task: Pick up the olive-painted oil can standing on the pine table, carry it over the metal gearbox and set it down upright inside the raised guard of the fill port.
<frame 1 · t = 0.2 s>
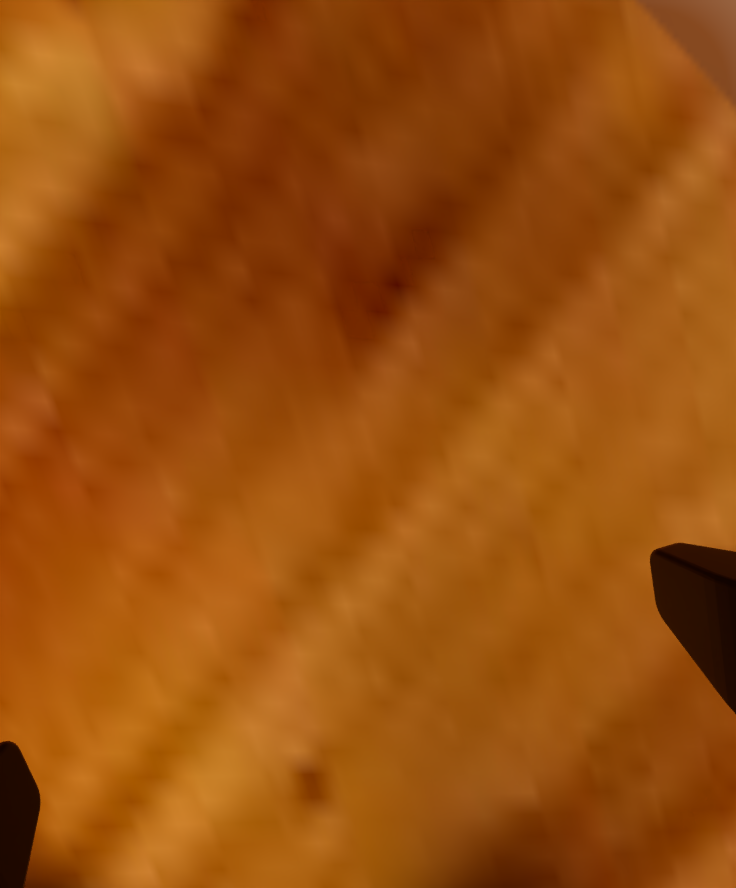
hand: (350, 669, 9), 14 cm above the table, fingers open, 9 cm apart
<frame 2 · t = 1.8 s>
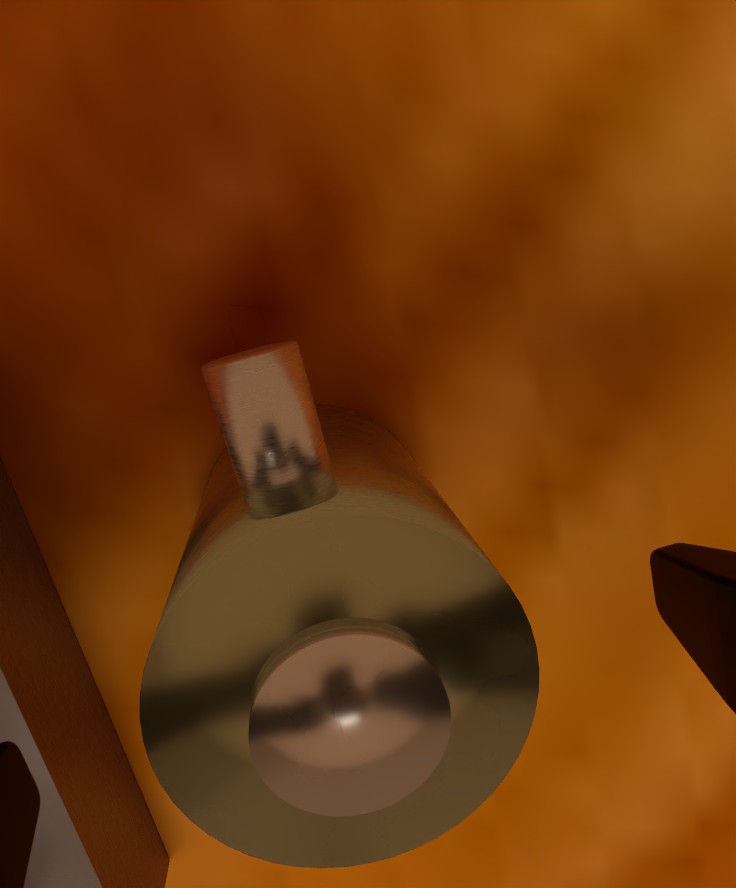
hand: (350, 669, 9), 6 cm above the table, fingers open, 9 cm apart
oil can: (315, 512, 15), on the table
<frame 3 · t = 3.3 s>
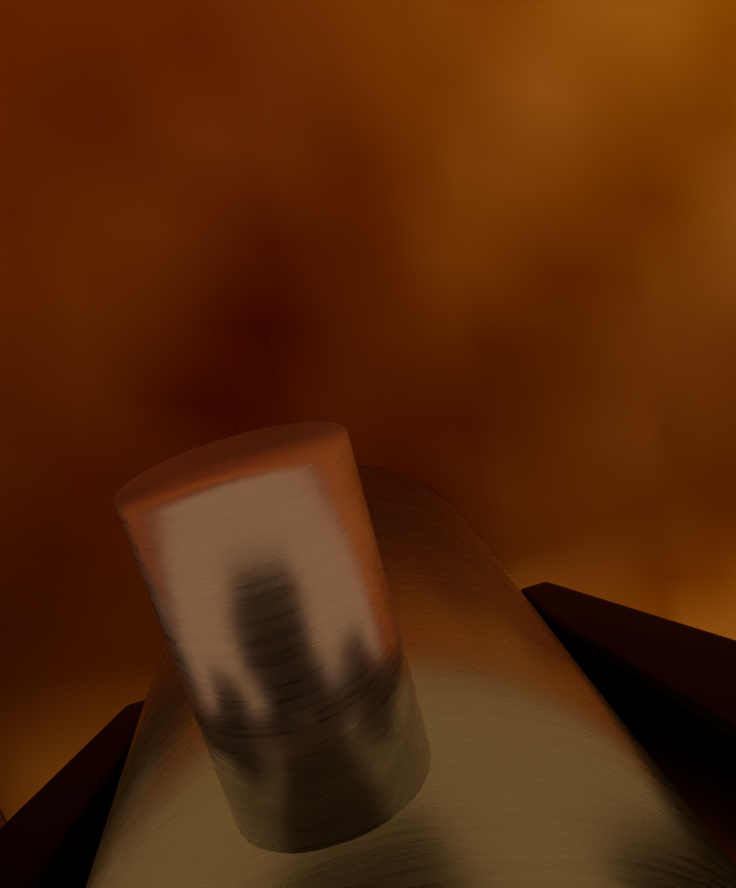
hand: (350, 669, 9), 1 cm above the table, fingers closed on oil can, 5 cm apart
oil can: (340, 617, 10), on the table, touching gripper
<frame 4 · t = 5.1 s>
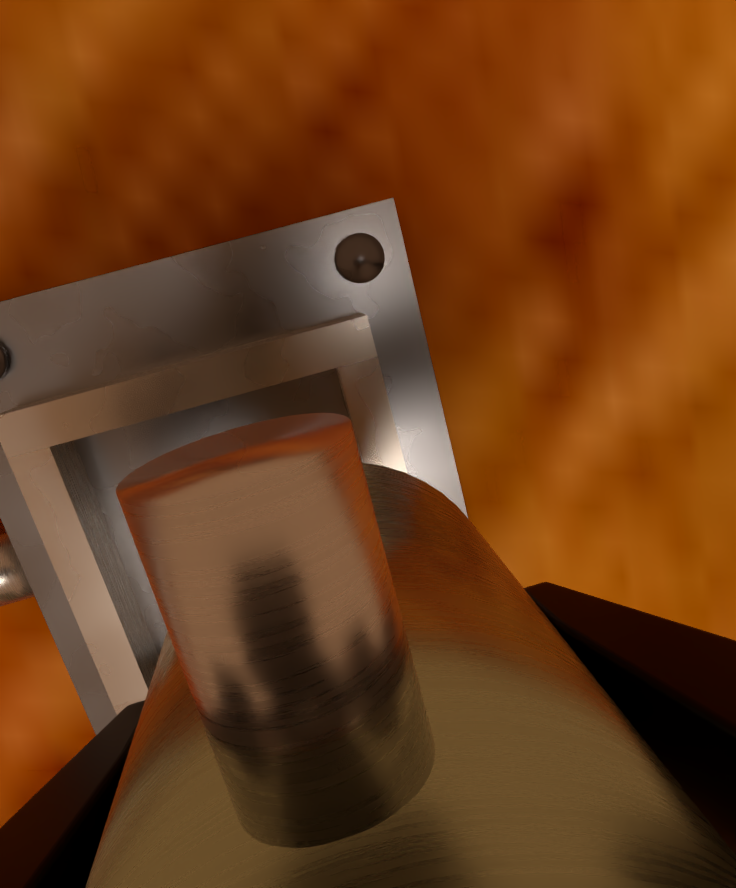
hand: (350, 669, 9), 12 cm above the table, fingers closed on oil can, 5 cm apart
gearbox: (251, 485, 21), on the table
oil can: (341, 614, 10), point 11 cm above the table, touching gripper
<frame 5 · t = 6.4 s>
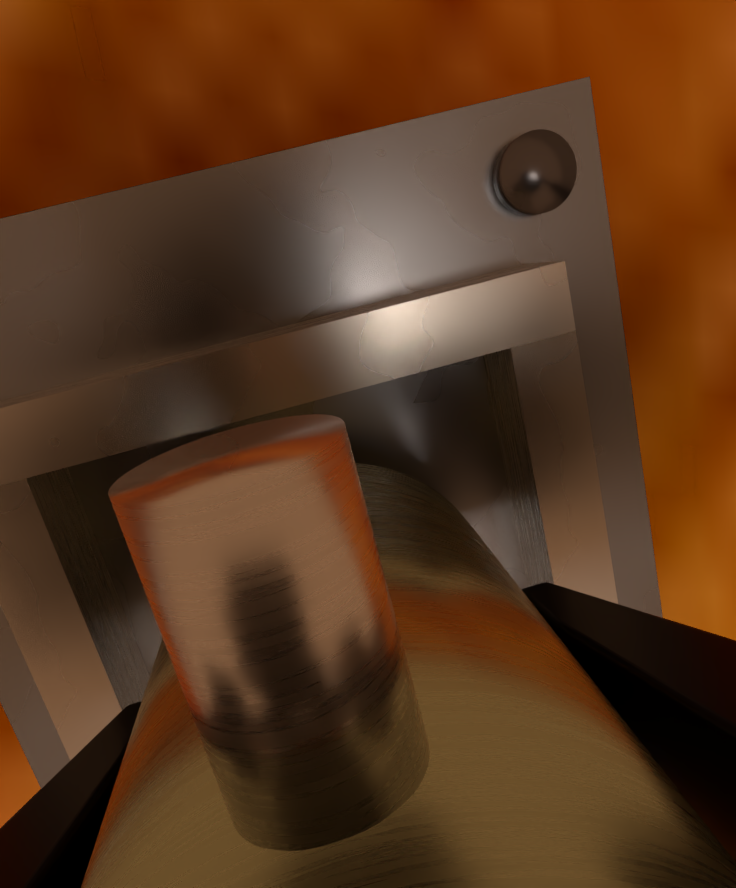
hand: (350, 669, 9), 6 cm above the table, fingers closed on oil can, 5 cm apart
gearbox: (319, 521, 14), on the table
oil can: (339, 615, 10), point 4 cm above the table, touching gripper
when the fingers open (6 cm above the table, at t = 7.2 s): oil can drops 1 cm, resting on gearbox.
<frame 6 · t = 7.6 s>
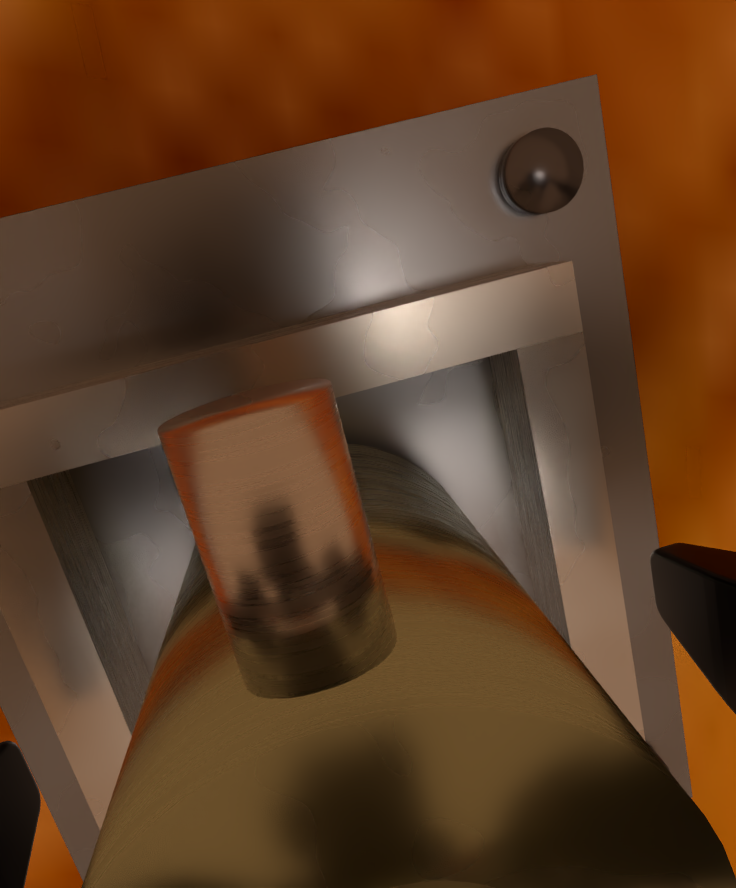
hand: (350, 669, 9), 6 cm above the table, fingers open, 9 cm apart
gearbox: (321, 523, 14), on the table
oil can: (336, 582, 11), point 3 cm above the table, touching gearbox
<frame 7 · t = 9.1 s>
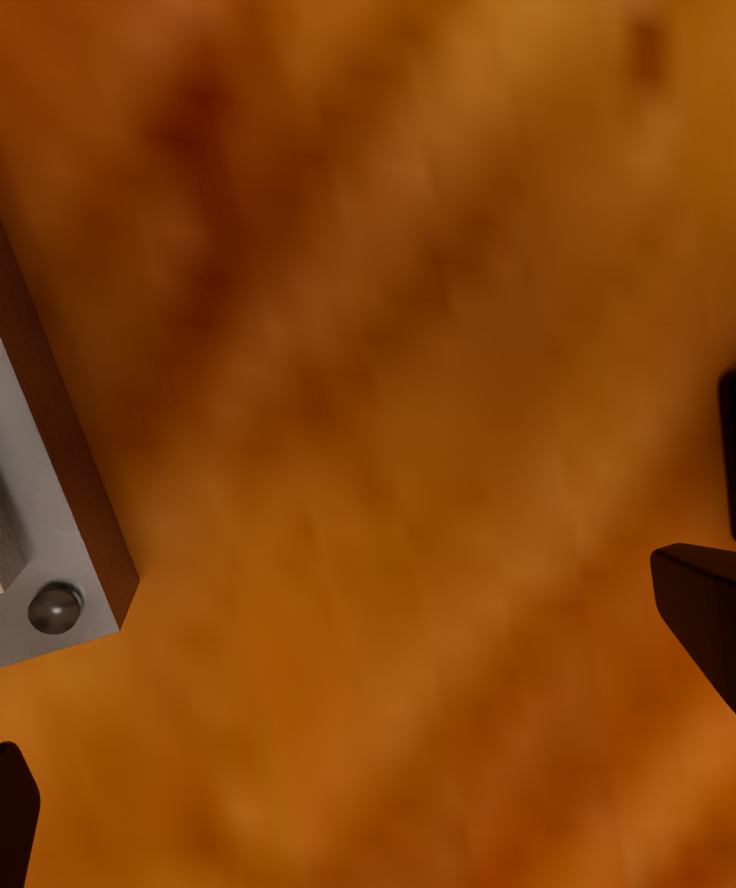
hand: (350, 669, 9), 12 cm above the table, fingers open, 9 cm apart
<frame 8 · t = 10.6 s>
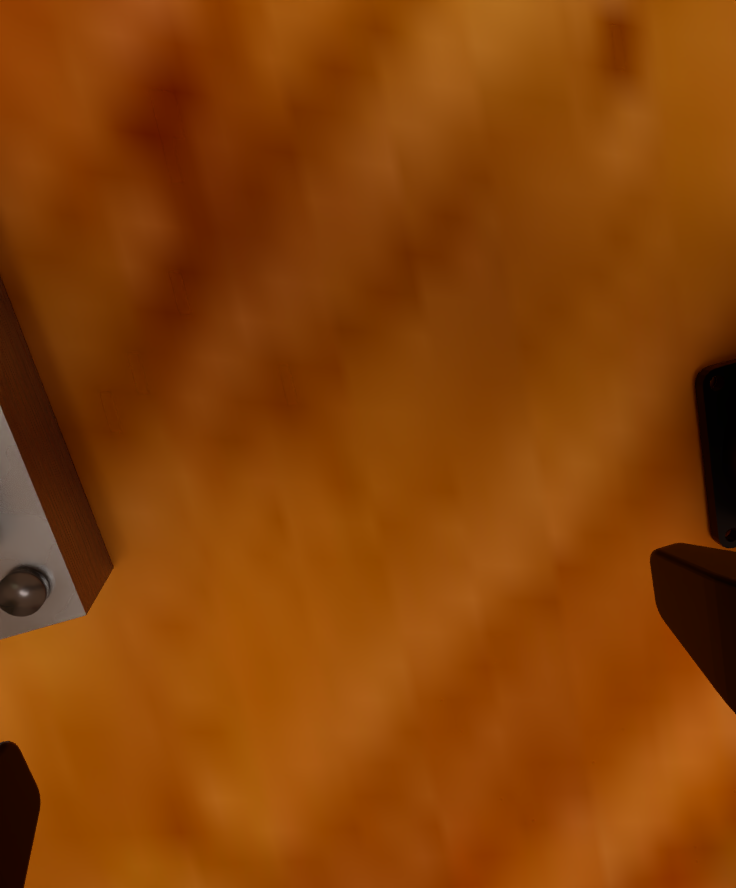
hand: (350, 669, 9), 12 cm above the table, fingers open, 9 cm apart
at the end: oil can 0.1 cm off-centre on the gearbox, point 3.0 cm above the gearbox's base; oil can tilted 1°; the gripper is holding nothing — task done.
